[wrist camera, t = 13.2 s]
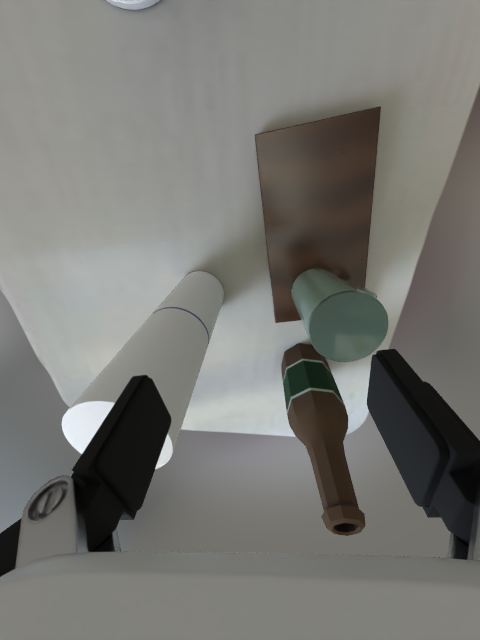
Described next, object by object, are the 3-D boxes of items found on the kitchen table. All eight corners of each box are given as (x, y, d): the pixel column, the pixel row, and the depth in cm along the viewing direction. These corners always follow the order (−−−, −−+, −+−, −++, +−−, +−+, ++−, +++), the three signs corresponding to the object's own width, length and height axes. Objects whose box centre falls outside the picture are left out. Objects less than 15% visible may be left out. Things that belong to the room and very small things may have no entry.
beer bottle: (334, 353, 41) (414, 526, 20) (307, 382, 44) (351, 554, 23) (296, 334, 39) (339, 497, 18) (272, 365, 43) (284, 532, 22)
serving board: (255, 137, 27) (254, 134, 26) (374, 110, 25) (381, 106, 24) (274, 318, 38) (275, 322, 37) (358, 309, 36) (362, 313, 35)
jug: (289, 271, 33) (306, 297, 20) (357, 262, 31) (424, 282, 18) (293, 315, 35) (310, 365, 22) (357, 308, 34) (416, 356, 21)
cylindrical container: (225, 274, 35) (172, 411, 13) (221, 316, 39) (173, 478, 17) (178, 268, 35) (48, 392, 13) (179, 310, 39) (75, 463, 17)
